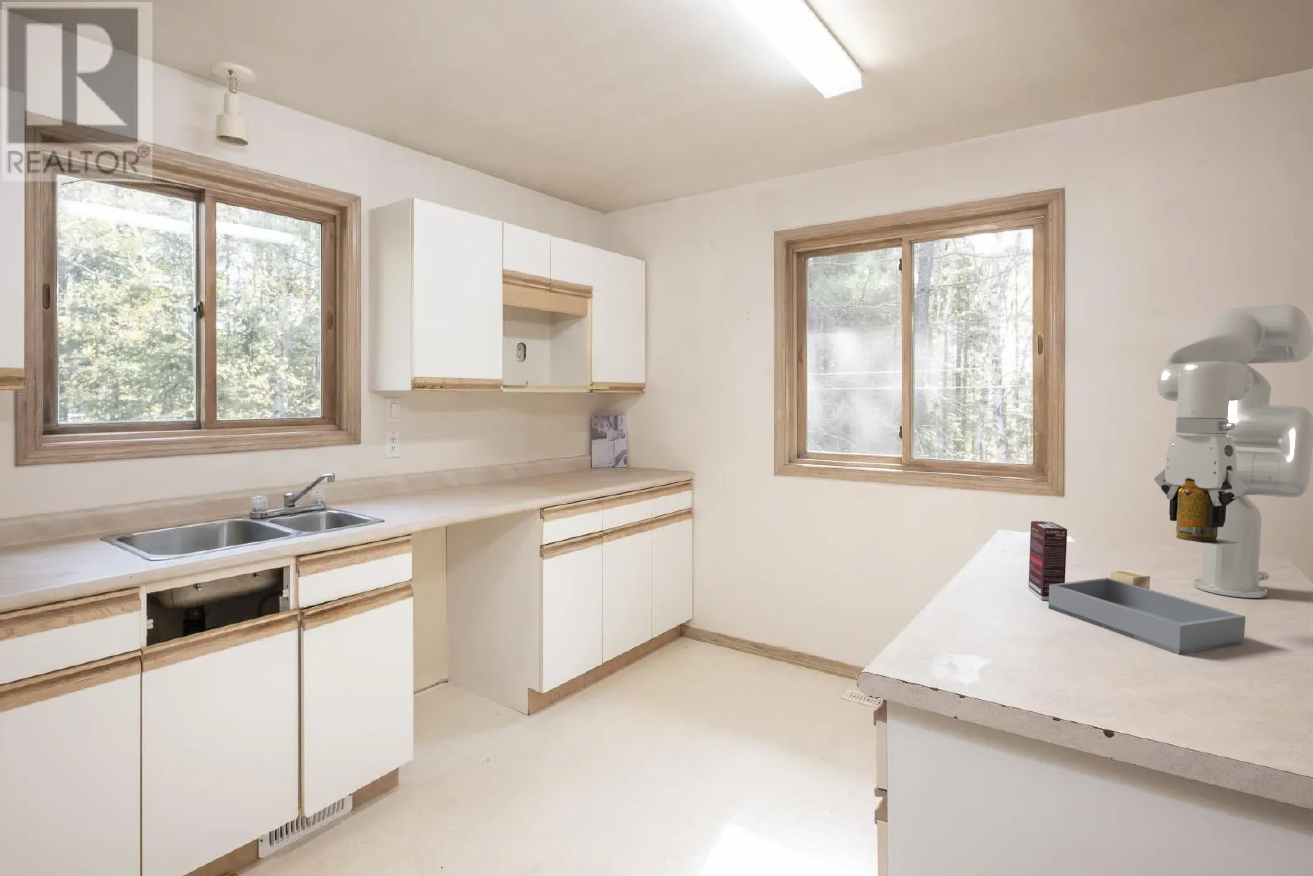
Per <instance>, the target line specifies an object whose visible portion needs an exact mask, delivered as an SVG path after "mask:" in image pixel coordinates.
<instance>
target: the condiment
mask: <svg viewBox="0 0 1313 876" xmlns="http://www.w3.org/2000/svg"><path fill="white" fill-rule="evenodd" d="M1210 505H1213V503H1212V500H1211V497H1210V495H1209V492H1208V490H1204V489H1201V488H1199V487H1198V486H1197V485H1196V484H1195V480H1194V479H1190V478H1188V479H1185V483H1184V484H1183V486H1182V488H1181V489H1180V490H1179V491H1178V507H1177V521H1175V523H1176V528H1175V532H1176V535H1165V537H1166V538H1171V539H1177V540H1180V541H1187V542H1189V541H1190V542H1195V543H1202V544H1204V543H1210V544H1214V545H1226V544H1229V545H1230V544H1235V543H1239V542H1234V541H1228V540H1222V539H1216V538H1217V536H1218V535H1217V533H1218V531H1217V530H1218V527H1215V528H1213V527H1209V526H1208V516H1209V506H1210Z"/></svg>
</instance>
